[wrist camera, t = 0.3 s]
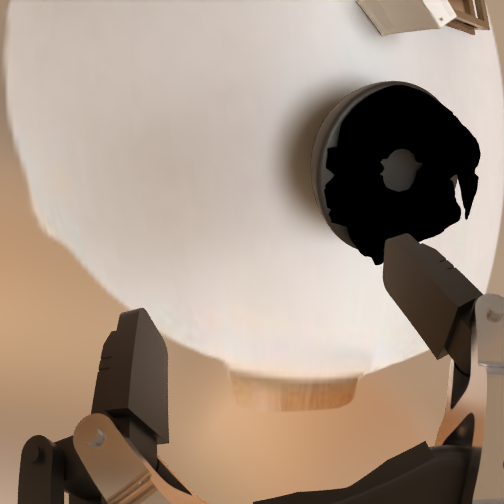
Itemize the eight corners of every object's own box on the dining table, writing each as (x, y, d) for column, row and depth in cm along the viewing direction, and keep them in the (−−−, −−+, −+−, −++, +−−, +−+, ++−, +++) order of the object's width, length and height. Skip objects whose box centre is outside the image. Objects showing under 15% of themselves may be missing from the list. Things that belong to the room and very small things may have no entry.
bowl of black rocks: (419, 91, 33) (525, 118, 17) (402, 215, 44) (481, 283, 28) (289, 70, 30) (377, 62, 14) (284, 222, 41) (340, 316, 25)
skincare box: (399, 24, 28) (461, 17, 17) (379, 37, 29) (442, 31, 18) (373, -11, 25) (431, -30, 14) (352, 0, 26) (409, -19, 15)
